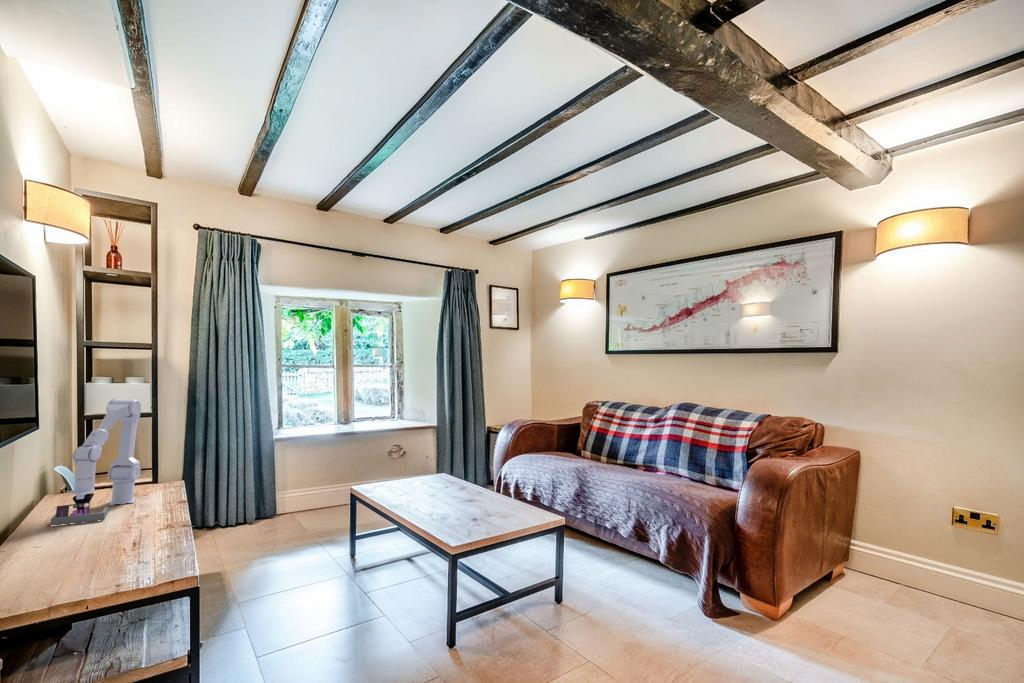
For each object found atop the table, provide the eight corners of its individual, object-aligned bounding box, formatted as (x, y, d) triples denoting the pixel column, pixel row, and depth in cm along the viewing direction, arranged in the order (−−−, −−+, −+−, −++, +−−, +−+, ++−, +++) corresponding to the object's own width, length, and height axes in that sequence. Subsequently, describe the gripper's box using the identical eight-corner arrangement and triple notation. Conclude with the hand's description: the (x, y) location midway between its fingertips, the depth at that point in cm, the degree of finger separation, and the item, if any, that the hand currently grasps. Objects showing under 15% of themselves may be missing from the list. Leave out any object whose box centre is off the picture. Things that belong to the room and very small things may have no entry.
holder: (56, 520, 175) (56, 512, 175) (107, 514, 183) (108, 506, 183) (50, 527, 168) (50, 518, 168) (103, 520, 176) (104, 512, 176)
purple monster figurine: (56, 505, 171) (89, 502, 177) (58, 507, 175) (90, 503, 181) (54, 525, 169) (88, 520, 175) (55, 526, 173) (88, 522, 178)
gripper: (74, 475, 183) (71, 511, 182) (66, 482, 171) (63, 521, 170) (98, 473, 187) (96, 508, 186) (92, 480, 175) (89, 518, 174)
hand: (82, 514), depth 178 cm, fingers closed
